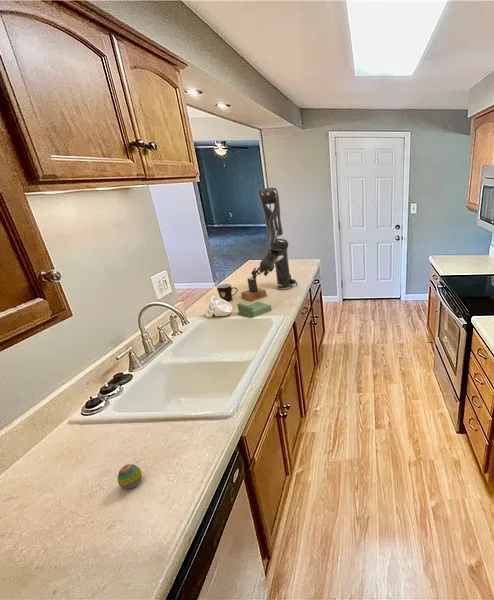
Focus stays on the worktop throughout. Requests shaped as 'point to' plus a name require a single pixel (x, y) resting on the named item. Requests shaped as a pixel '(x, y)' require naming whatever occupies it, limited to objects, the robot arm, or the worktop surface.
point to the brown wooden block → (253, 294)
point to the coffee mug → (225, 291)
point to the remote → (252, 285)
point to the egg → (129, 476)
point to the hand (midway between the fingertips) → (259, 276)
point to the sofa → (253, 309)
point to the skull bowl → (218, 307)
